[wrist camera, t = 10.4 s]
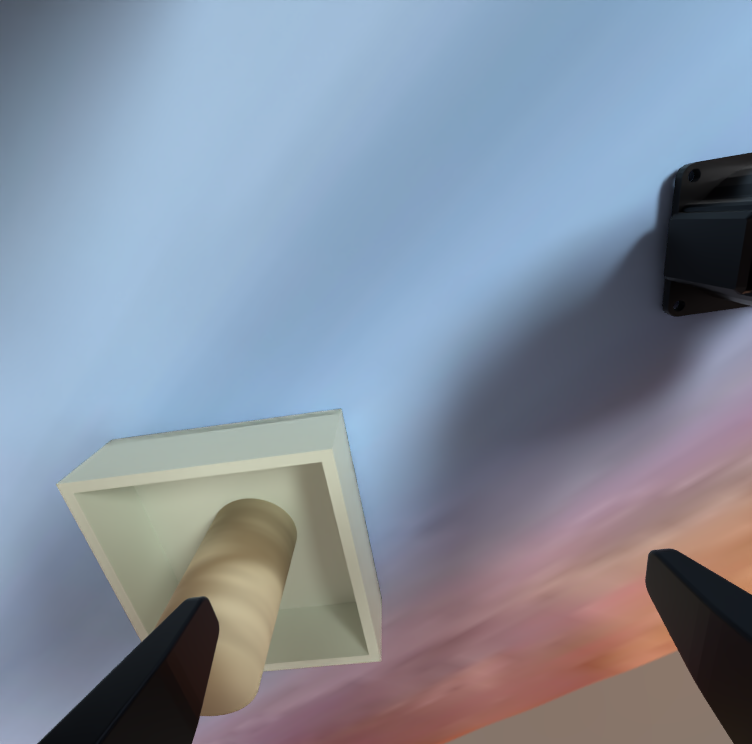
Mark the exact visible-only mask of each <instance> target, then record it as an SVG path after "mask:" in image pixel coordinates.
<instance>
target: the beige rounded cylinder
mask: <svg viewBox="0 0 752 744" xmlns="http://www.w3.org/2000/svg"><path fill="white" fill-rule="evenodd" d="M296 540H297V530H296V526H295V523H294V521H293V520H292V518H291V517H290V516H289V514H288V513H287V512H286V511H284V510H283V509H282V508H280V507H279V506H277V505H275V504H273V503H271V502H268V501H265V500H261V499H253V498H247V499H240V500H236V501H233V502H231V503H229V504H227V505H225V506H224V507H223V508H222V509H221V510H220V511H219V512H218V513H217V515H216V517H215V519H214V520H213V522H212V524H211V526H210V528H209V530H208V531H207V533H206V535H205V537H204V539H203V541H202V542H201V544H200V546H199V548H198V550H197V552H196V553H195V555H194V557H193V559H192V561H191V562H190V564H189V566H188V568H187V570H186V572H185V573H184V575H183V577H182V579H181V581H180V583H179V584H178V586H177V588H176V590H175V592H174V594H173V595H172V597H171V599H170V601H169V603H168V605H167V606H166V608H165V610H164V612H163V614H162V615H161V617H160V619H159V621H158V623H157V625H156V626H155V628H156V627H157V626H158V625H159V624H161V623H162V622H163V621H164V620H165V619H166V618H167V617H168V616H169V615H170V614H171V613H172V612H173V611H174V610H175V609H176V608H177V607H178V606H179V605H180V604H181V603H182V602H183V601H184V600H186V599H188V598H191V597H200V596H206V597H207V598H208V599H209V600H210V602H211V605H212V607H213V609H214V612H215V614H216V617H217V619H218V621H219V637H218V641H217V646H216V650H215V654H214V659H213V663H212V667H211V672H210V676H209V680H208V685H207V689H206V693H205V698H204V702H203V706H202V710H201V714H200V716H218V715H225V714H229V713H232V712H235V711H238V710H240V709H242V708H244V707H245V706H247V705H248V704H249V703H250V702H251V701H252V700H253V699H254V698H255V696H256V694H257V692H258V689H259V685H260V681H261V677H262V673H263V669H264V665H265V661H266V657H267V654H268V650H269V646H270V642H271V638H272V634H273V630H274V626H275V622H276V618H277V615H278V611H279V607H280V603H281V599H282V595H283V591H284V587H285V583H286V579H287V575H288V572H289V568H290V564H291V560H292V556H293V552H294V548H295V544H296ZM155 628H154V629H155Z"/></svg>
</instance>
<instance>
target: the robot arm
mask: <svg viewBox="0 0 752 744" xmlns="http://www.w3.org/2000/svg"><path fill="white" fill-rule="evenodd" d="M691 171H693V172H694V177H693V179H692V180H691V182H690V181H689V180H688V175H689V173H690V172H691ZM664 276H665V285H664V294H663V304H662V307H663V311H664V312H665V313H666V314H668V315H671V316H685V315H692V314H699V313H706V312H712V311H719V310H726V309H733V308H740V307H747V306H752V153H747V154H741V155H735V156H729V157H723V158H718V159H712V160H706V161H700V162H695V163H689V164H687V165H684V166H683V167H682V168H680V169H679V171H678V172H677V175H676V178H675V187H674V196H673V206H672V216H671V219H670V221H669V229H668V239H667V249H666V259H665V268H664ZM677 301H679V305H678V307H677V308H676V309H674V304H675V303H676V302H677ZM645 582H646V588H647V591H648V593H649V595H650V597H651V599H652V601H653V603H654V605H655V607H656V609H657V611H658V613H659V615H660V617H661V618H662V620H663V622H664V624H665V626H666V628H667V630H668V632H669V634H670V636H671V638H672V639H673V641H674V643H675V645H676V647H677V649H678V651H679V653H680V655H681V657H682V659H683V661H684V662H685V664H686V666H687V668H688V670H689V672H690V673H691V675H692V677H693V679H694V681H695V683H696V684H697V686H698V688H699V689H700V691H701V693H702V694H703V696H704V698H705V699H706V701H707V702H708V704H709V705H710V707H711V708H712V710H713V712H714V713H715V715H716V717H717V718H718V720H719V721H720V723H721V724H722V726H723V728H724V729H725V731H726V732H727V734H728V735H729V737H730V738H731V740H732V742H733V743H734V744H752V595H751V594H749V593H748V592H746V591H744V590H743V589H741V588H739V587H738V586H736V585H734V584H733V583H731V582H729V581H728V580H726V579H724V578H723V577H721V576H719V575H718V574H716V573H714V572H712V571H711V570H709V569H707V568H706V567H704V566H702V565H701V564H699V563H697V562H696V561H694V560H692V559H691V558H689V557H687V556H686V555H684V554H682V553H680V552H679V551H677V550H674V549H660V550H652V551H651V552H650V553H649V555H648V562H647V570H646V579H645ZM218 637H219V621H218V619H217V617H216V614H215V612H214V609H213V607H212V605H211V602H210V600H209V599H208V598H207V597H206V596H200V597H191V598H188V599H186V600H184V601H183V602H182V603H181V604H180V605H179V606H178V607H177V608H176V609H175V610H174V611H173V612H172V613H171V614H170V615H169V616H168V617H167V618H166V619H165V620H164V621H163V622H162V623H161V624H159V625H158V626H157V627H156V628H155V629H154V630H153V631H152V632H151V633H150V634H149V635H148V636H147V637H146V638H145V639H144V640H143V641H142V642H141V643H140V644H139V645H138V646H137V647H136V648H135V649H134V650H133V651H132V652H131V653H130V654H129V655H128V656H127V657H126V658H125V659H124V660H123V661H122V662H121V663H120V664H119V665H117V666H116V667H115V668H114V669H113V670H112V671H111V672H110V673H109V674H108V675H107V676H106V677H105V678H104V679H103V680H102V681H101V682H100V683H99V684H98V685H97V686H96V687H95V688H94V689H93V690H92V691H91V692H90V693H89V694H88V695H87V696H86V697H85V698H84V699H83V700H82V701H81V702H80V703H79V704H78V705H77V706H75V707H74V708H73V709H72V710H71V711H70V712H69V713H68V714H67V715H66V716H65V717H64V718H63V719H62V720H61V721H60V722H59V723H58V724H57V725H56V726H55V727H54V728H53V729H52V730H51V731H50V732H49V733H48V734H47V735H46V736H45V737H44V738H43V739H42V740H41V741H40V742H39V743H38V744H192V741H193V738H194V735H195V732H196V728H197V725H198V722H199V718H200V714H201V710H202V706H203V702H204V698H205V693H206V689H207V685H208V680H209V676H210V672H211V667H212V663H213V659H214V654H215V650H216V646H217V641H218Z"/></svg>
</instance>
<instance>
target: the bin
mask: <svg viewBox="0 0 752 744" xmlns="http://www.w3.org/2000/svg"><path fill="white" fill-rule="evenodd" d="M56 485H57V487H58V489H59V491H60V493H61V495H62V496H63V498H64V500H65V502H66V504H67V506H68V507H69V509H70V511H71V513H72V515H73V517H74V518H75V520H76V522H77V524H78V526H79V528H80V530H81V531H82V533H83V535H84V537H85V539H86V541H87V542H88V544H89V546H90V548H91V550H92V552H93V553H94V555H95V557H96V559H97V561H98V563H99V565H100V566H101V568H102V570H103V572H104V574H105V576H106V577H107V579H108V581H109V583H110V585H111V587H112V588H113V590H114V592H115V594H116V596H117V598H118V600H119V601H120V603H121V605H122V607H123V609H124V611H125V612H126V614H127V616H128V618H129V620H130V622H131V623H132V625H133V627H134V629H135V631H136V633H137V635H138V636H139V638H140V640H141V642H142V641H143V640H144V639H145V638H146V637H147V636H148V635H149V634H150V633H151V632H152V631H153V630H154V628H155V626H156V625H157V623H158V621H159V619H160V617H161V615H162V614H163V612H164V610H165V608H166V606H167V605H168V603H169V601H170V599H171V597H172V595H173V594H174V592H175V590H176V588H177V586H178V584H179V583H180V581H181V579H182V577H183V575H184V573H185V572H186V570H187V568H188V566H189V564H190V562H191V561H192V559H193V557H194V555H195V553H196V552H197V550H198V548H199V546H200V544H201V542H202V541H203V539H204V537H205V535H206V533H207V531H208V530H209V528H210V526H211V524H212V522H213V520H214V519H215V517H216V515H217V513H218V512H219V511H220V510H221V509H222V508H223V507H224V506H225V505H227V504H229V503H231V502H233V501H236V500H240V499H247V498H253V499H261V500H265V501H268V502H271V503H273V504H275V505H277V506H279V507H280V508H282V509H283V510H284V511H286V512H287V513H288V514H289V516H290V517H291V518H292V520H293V521H294V523H295V526H296V530H297V540H296V544H295V548H294V552H293V556H292V560H291V564H290V568H289V572H288V575H287V579H286V583H285V587H284V591H283V595H282V599H281V603H280V607H279V611H278V615H277V618H276V622H275V626H274V630H273V634H272V638H271V642H270V646H269V650H268V654H267V657H266V661H265V665H264V669H263V671H274V670H285V669H297V668H309V667H320V666H332V665H343V664H355V663H366V662H378V661H381V621H382V597H381V593H380V588H379V583H378V579H377V574H376V569H375V565H374V560H373V555H372V550H371V546H370V541H369V536H368V532H367V527H366V522H365V517H364V513H363V508H362V503H361V499H360V494H359V489H358V484H357V480H356V475H355V470H354V466H353V461H352V456H351V451H350V447H349V442H348V437H347V433H346V428H345V423H344V418H343V414H342V409H334V410H327V411H319V412H312V413H305V414H297V415H290V416H283V417H275V418H268V419H261V420H253V421H246V422H239V423H231V424H224V425H217V426H209V427H202V428H194V429H187V430H180V431H172V432H165V433H158V434H150V435H143V436H136V437H128V438H121V439H114V440H111V441H109V442H108V443H107V444H106V445H104V446H103V447H102V448H101V449H99V450H98V451H97V452H96V453H94V454H93V455H92V456H91V457H89V458H88V459H87V460H86V461H84V462H83V463H82V464H81V465H79V466H78V467H77V468H76V469H74V470H73V471H72V472H71V473H69V474H68V475H67V476H66V477H64V478H63V479H62V480H61V481H59V482H58V483H57V484H56Z"/></svg>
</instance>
